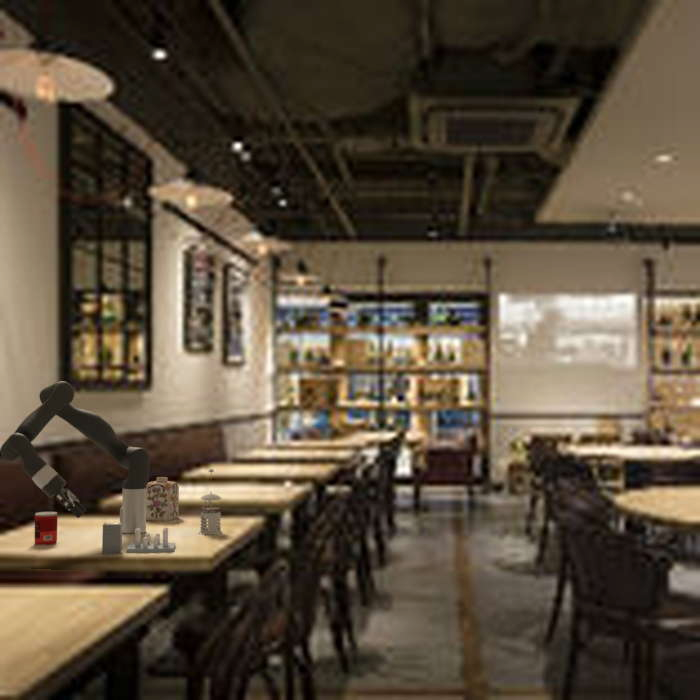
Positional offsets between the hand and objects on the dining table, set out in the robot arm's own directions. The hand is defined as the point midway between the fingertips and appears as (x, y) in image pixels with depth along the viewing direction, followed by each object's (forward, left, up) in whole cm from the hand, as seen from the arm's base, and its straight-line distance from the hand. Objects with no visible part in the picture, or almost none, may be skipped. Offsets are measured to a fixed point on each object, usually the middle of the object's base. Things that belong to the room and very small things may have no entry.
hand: (82, 514), depth 329 cm
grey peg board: (+18, +16, -13) cm, 27 cm away
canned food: (-24, +13, -14) cm, 30 cm away
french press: (+20, +57, -14) cm, 62 cm away
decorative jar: (-16, +83, -14) cm, 85 cm away
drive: (+9, +5, -13) cm, 17 cm away
